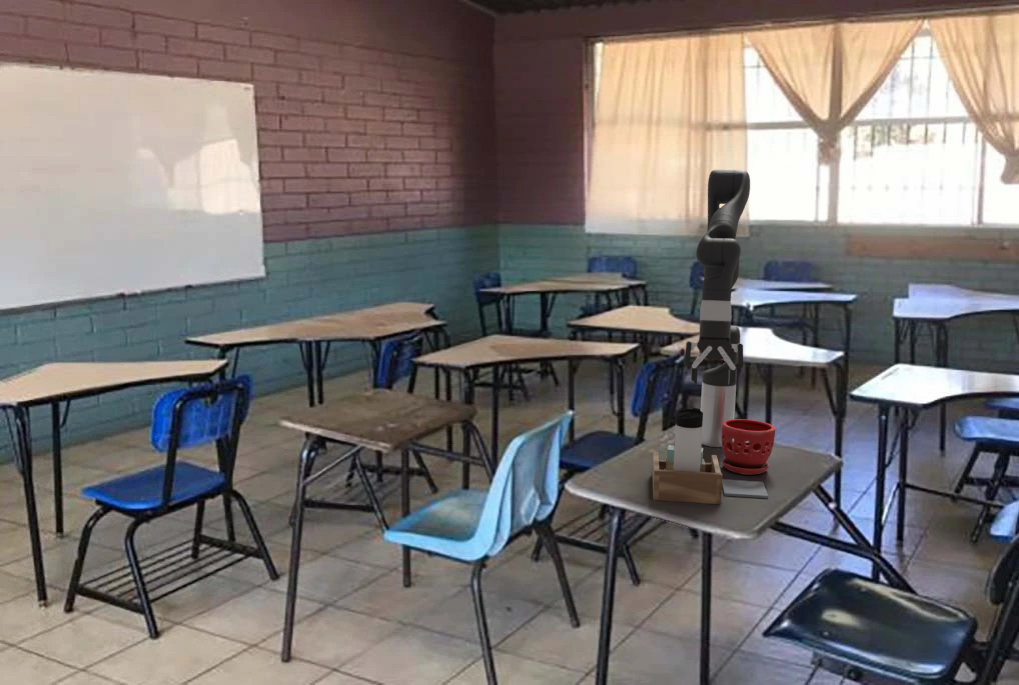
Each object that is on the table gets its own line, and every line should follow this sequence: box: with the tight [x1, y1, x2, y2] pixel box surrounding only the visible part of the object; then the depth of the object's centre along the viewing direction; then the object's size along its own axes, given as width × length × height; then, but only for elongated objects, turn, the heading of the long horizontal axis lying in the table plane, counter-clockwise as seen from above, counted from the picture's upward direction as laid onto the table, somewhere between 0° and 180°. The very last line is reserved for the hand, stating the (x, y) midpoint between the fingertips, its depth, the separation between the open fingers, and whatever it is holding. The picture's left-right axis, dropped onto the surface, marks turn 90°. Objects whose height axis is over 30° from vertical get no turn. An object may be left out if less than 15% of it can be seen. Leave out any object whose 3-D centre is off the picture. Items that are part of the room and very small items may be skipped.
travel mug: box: [673, 407, 703, 472], centre depth 226 cm, size 6×7×20 cm
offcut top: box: [666, 444, 704, 465], centre depth 234 cm, size 4×8×3 cm, turn 76°
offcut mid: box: [665, 456, 706, 472], centre depth 235 cm, size 4×9×3 cm, turn 84°
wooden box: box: [651, 451, 724, 505], centre depth 230 cm, size 18×15×7 cm
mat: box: [722, 478, 769, 499], centre depth 231 cm, size 10×10×1 cm
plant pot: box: [721, 418, 776, 476], centre depth 245 cm, size 13×13×12 cm
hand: (712, 384), depth 239 cm, fingers open, 8 cm apart
